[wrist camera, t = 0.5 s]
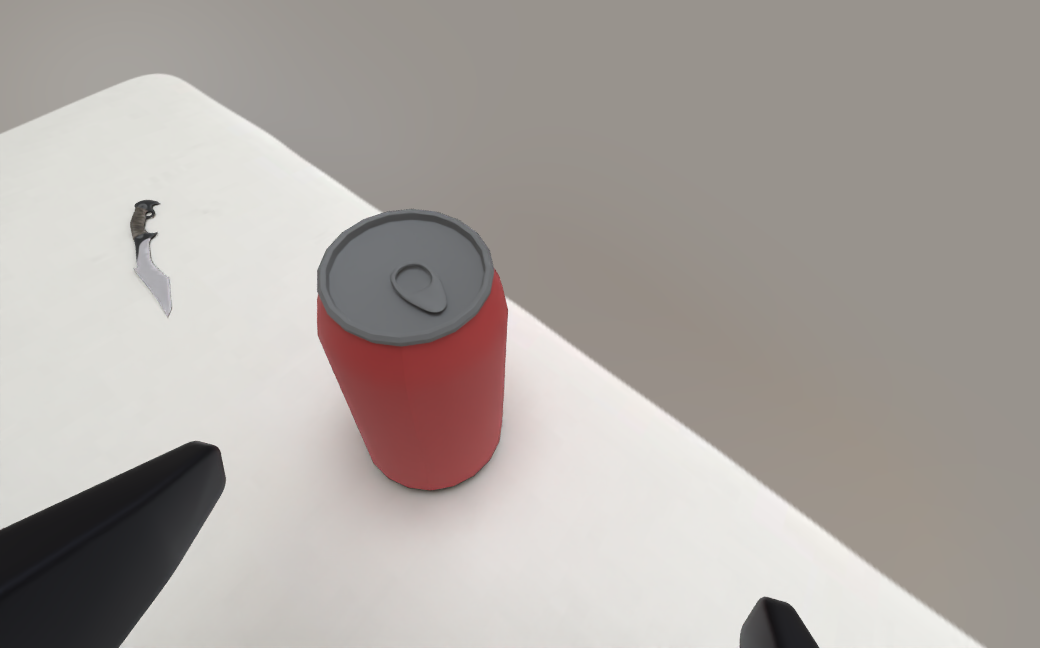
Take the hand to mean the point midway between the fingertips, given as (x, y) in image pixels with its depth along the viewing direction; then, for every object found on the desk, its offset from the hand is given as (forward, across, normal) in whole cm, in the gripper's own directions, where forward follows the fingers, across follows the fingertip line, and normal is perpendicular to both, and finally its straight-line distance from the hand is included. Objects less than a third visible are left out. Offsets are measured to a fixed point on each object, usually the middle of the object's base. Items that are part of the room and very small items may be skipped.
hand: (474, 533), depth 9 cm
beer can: (+14, +5, +12) cm, 19 cm away
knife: (+22, +23, +8) cm, 33 cm away
